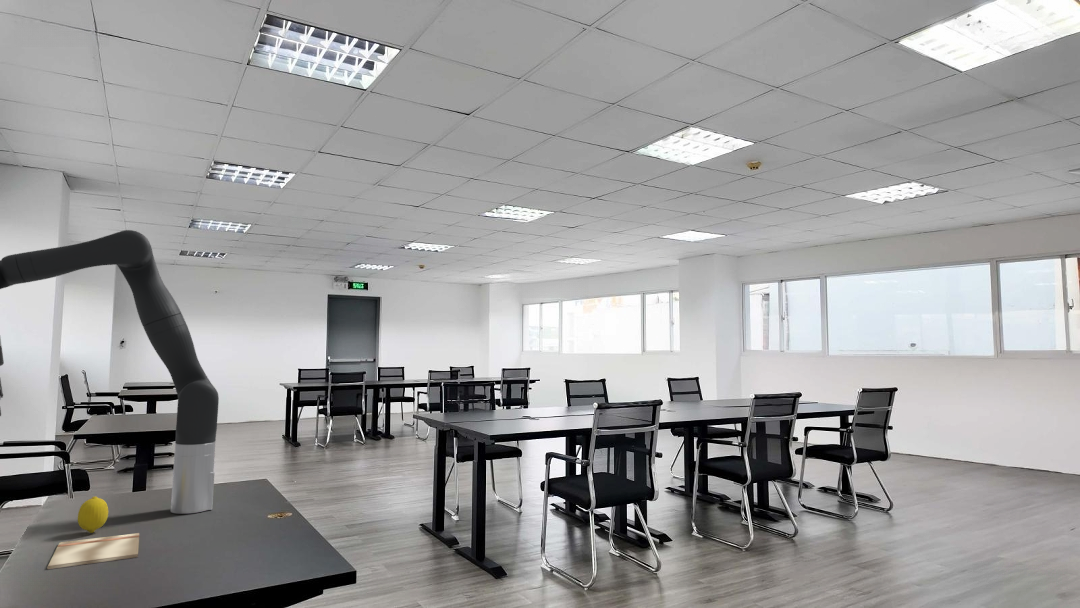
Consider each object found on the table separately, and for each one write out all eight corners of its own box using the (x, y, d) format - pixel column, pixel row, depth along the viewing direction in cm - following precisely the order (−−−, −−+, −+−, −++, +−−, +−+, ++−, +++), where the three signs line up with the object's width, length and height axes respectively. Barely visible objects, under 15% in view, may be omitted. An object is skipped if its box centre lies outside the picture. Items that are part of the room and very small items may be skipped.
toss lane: (139, 534, 134) (139, 532, 134) (137, 557, 119) (137, 554, 119) (59, 544, 127) (59, 541, 127) (47, 569, 112) (47, 566, 112)
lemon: (90, 537, 132) (93, 499, 133) (69, 535, 133) (72, 498, 134) (113, 530, 137) (115, 494, 138) (92, 528, 138) (95, 493, 139)
